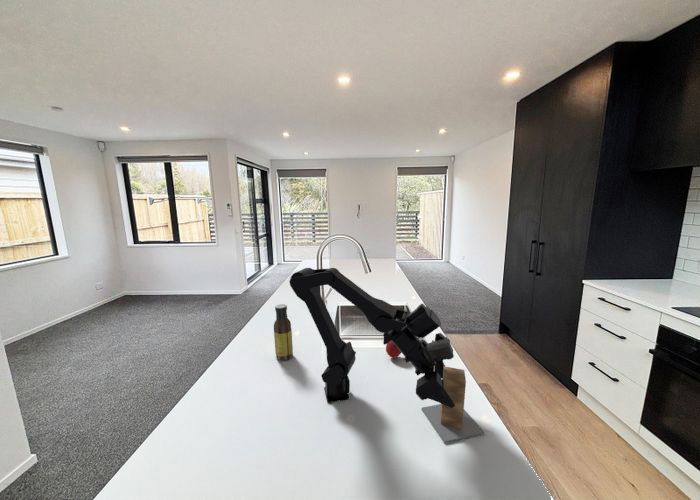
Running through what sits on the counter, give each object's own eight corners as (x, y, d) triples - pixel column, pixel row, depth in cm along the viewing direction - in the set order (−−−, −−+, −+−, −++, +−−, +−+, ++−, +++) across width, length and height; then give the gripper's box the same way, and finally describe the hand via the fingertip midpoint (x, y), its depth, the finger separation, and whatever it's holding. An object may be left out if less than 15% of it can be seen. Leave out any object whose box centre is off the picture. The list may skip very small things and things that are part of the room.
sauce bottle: (288, 350, 104) (286, 301, 100) (296, 357, 99) (294, 306, 96) (272, 356, 100) (269, 305, 96) (279, 364, 95) (277, 310, 92)
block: (440, 424, 68) (443, 377, 66) (440, 410, 73) (443, 366, 71) (462, 429, 67) (465, 381, 65) (460, 414, 71) (464, 369, 69)
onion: (401, 363, 96) (402, 342, 94) (385, 361, 97) (385, 340, 95) (401, 354, 101) (402, 334, 100) (386, 352, 102) (386, 333, 101)
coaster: (444, 443, 63) (444, 441, 63) (421, 409, 74) (421, 407, 74) (484, 434, 66) (484, 432, 66) (456, 402, 77) (456, 400, 76)
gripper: (434, 347, 59) (485, 404, 57) (435, 315, 76) (474, 358, 75) (396, 373, 63) (443, 427, 61) (406, 336, 80) (442, 378, 78)
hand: (452, 393), depth 69 cm, fingers open, 9 cm apart
